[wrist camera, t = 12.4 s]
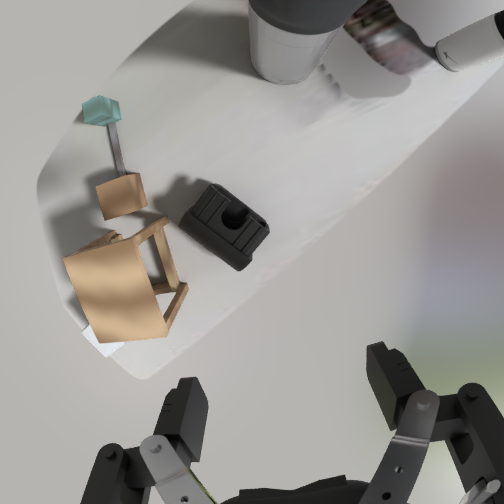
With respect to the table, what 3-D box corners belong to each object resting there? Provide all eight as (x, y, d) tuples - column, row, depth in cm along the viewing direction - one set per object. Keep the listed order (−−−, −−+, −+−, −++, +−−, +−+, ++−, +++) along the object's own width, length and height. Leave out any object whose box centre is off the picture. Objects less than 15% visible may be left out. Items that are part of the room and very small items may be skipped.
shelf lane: (109, 231, 41) (62, 258, 29) (166, 215, 40) (130, 239, 28) (133, 299, 45) (99, 343, 32) (189, 289, 44) (166, 336, 31)
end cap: (185, 219, 41) (172, 230, 34) (214, 180, 39) (206, 184, 33) (239, 261, 43) (236, 279, 36) (270, 224, 41) (273, 236, 34)
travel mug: (435, 66, 32) (514, 36, 13) (432, 35, 30) (503, -2, 11) (461, 79, 32) (541, 60, 13) (459, 49, 30) (531, 22, 11)
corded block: (96, 111, 35) (76, 106, 30) (124, 99, 35) (105, 92, 29) (119, 214, 40) (101, 222, 35) (147, 205, 40) (131, 213, 34)
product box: (98, 311, 46) (79, 332, 39) (116, 294, 45) (97, 314, 38) (121, 335, 47) (105, 359, 40) (140, 320, 46) (125, 343, 39)
